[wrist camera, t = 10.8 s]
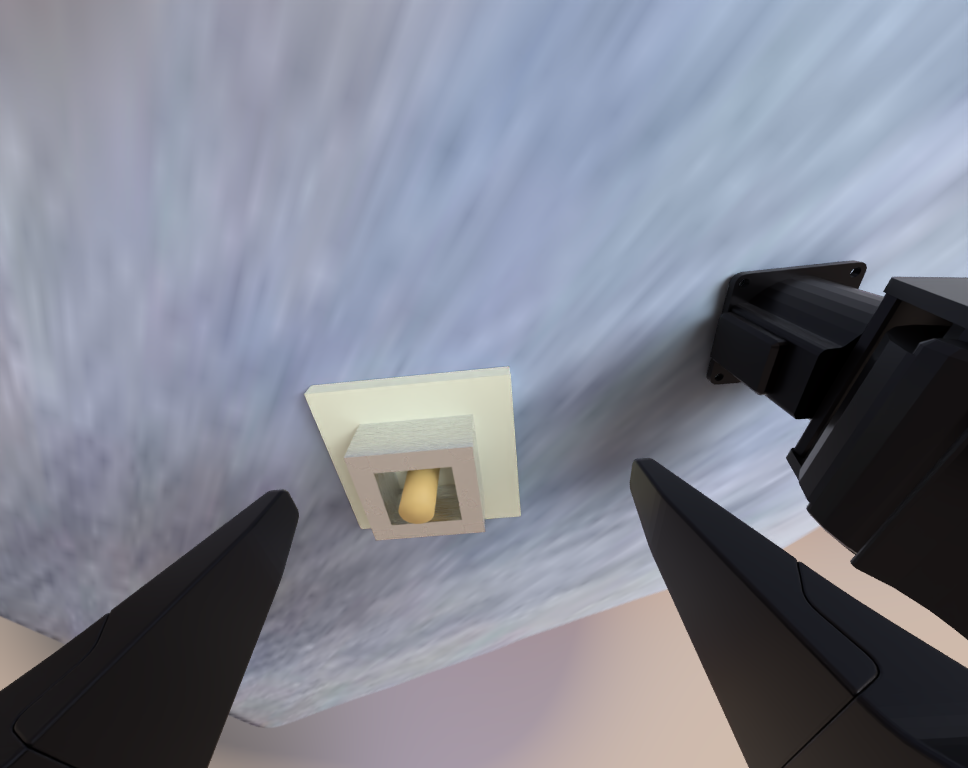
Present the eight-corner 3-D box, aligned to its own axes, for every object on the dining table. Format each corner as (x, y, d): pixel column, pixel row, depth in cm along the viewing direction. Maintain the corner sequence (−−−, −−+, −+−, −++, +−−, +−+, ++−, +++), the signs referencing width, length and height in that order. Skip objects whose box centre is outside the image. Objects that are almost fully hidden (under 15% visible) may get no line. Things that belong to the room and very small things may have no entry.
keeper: (509, 366, 21) (517, 415, 17) (519, 505, 27) (527, 567, 23) (311, 385, 21) (269, 438, 17) (364, 517, 28) (343, 581, 23)
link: (473, 414, 21) (472, 446, 19) (484, 495, 25) (485, 531, 22) (359, 424, 22) (343, 457, 19) (386, 503, 25) (376, 540, 23)
